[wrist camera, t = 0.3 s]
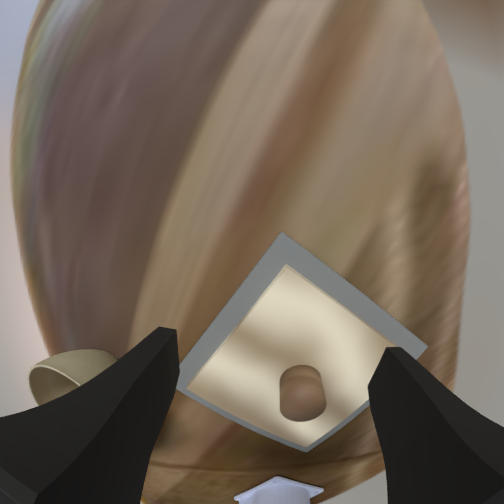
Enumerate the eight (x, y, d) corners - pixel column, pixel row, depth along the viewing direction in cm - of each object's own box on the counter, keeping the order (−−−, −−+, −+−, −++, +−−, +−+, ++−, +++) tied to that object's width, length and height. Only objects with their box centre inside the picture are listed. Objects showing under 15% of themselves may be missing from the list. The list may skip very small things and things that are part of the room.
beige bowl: (158, 419, 23) (134, 470, 16) (78, 390, 24) (46, 428, 17) (152, 341, 21) (113, 395, 14) (61, 313, 21) (13, 347, 14)
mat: (306, 449, 23) (306, 452, 23) (167, 379, 22) (166, 382, 21) (426, 344, 19) (427, 346, 19) (281, 230, 18) (281, 231, 18)
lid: (305, 441, 22) (308, 470, 18) (188, 382, 21) (176, 412, 17) (407, 352, 19) (425, 379, 16) (286, 263, 18) (289, 282, 15)
